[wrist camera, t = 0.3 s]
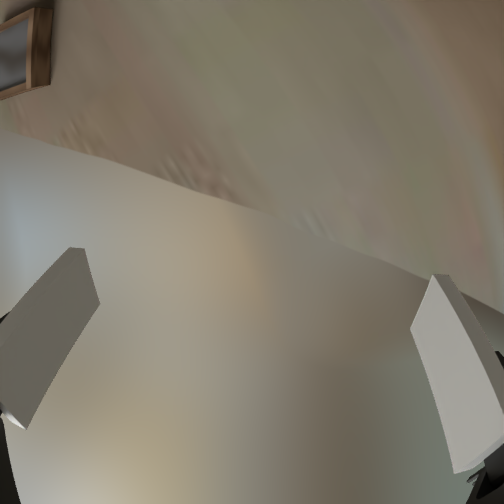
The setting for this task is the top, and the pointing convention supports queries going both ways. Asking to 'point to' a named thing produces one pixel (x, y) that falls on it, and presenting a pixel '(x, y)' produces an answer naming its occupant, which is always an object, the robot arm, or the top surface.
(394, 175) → the top surface
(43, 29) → the square wooden tray
